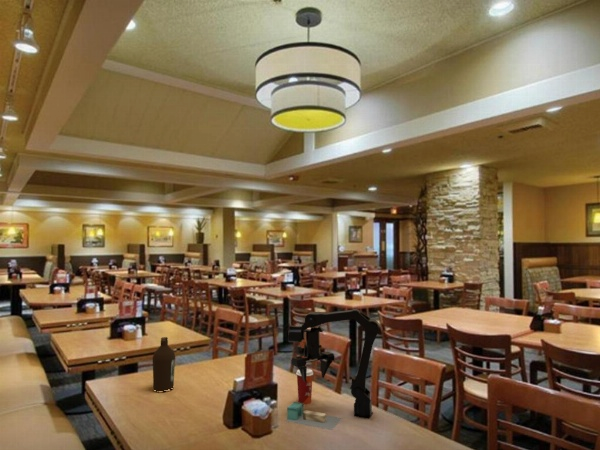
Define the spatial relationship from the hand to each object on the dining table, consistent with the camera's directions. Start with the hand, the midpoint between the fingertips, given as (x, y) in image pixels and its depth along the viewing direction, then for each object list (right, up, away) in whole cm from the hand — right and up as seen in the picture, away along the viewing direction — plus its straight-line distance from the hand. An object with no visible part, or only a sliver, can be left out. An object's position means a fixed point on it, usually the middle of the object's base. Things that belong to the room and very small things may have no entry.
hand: (313, 379), depth 178 cm
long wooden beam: (0, -13, -10) cm, 16 cm away
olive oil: (-73, -15, +28) cm, 79 cm away
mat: (0, -13, -10) cm, 16 cm away
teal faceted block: (-8, -13, -6) cm, 16 cm away
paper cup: (-4, -14, +10) cm, 18 cm away
